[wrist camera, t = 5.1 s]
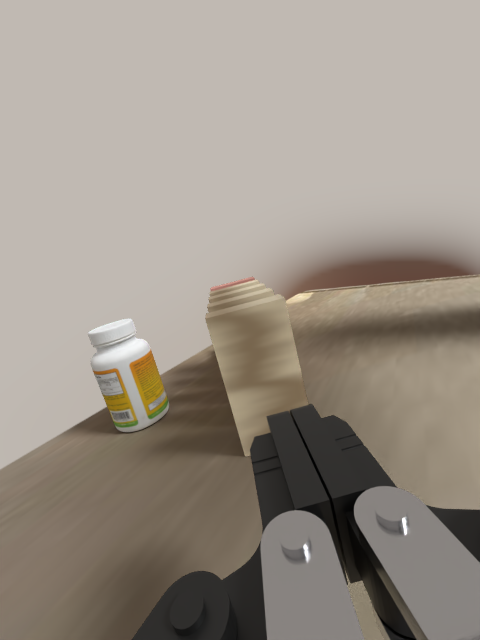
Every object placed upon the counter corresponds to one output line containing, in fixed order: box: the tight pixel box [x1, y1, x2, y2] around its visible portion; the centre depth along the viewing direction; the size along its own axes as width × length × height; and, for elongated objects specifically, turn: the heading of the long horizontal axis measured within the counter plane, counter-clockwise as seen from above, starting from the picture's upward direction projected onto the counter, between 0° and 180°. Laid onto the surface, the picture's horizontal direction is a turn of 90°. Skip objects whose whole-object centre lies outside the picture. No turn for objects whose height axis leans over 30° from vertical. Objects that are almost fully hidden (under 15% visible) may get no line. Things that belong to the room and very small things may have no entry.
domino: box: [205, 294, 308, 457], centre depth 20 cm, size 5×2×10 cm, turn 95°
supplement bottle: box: [88, 319, 169, 432], centre depth 29 cm, size 5×5×10 cm
